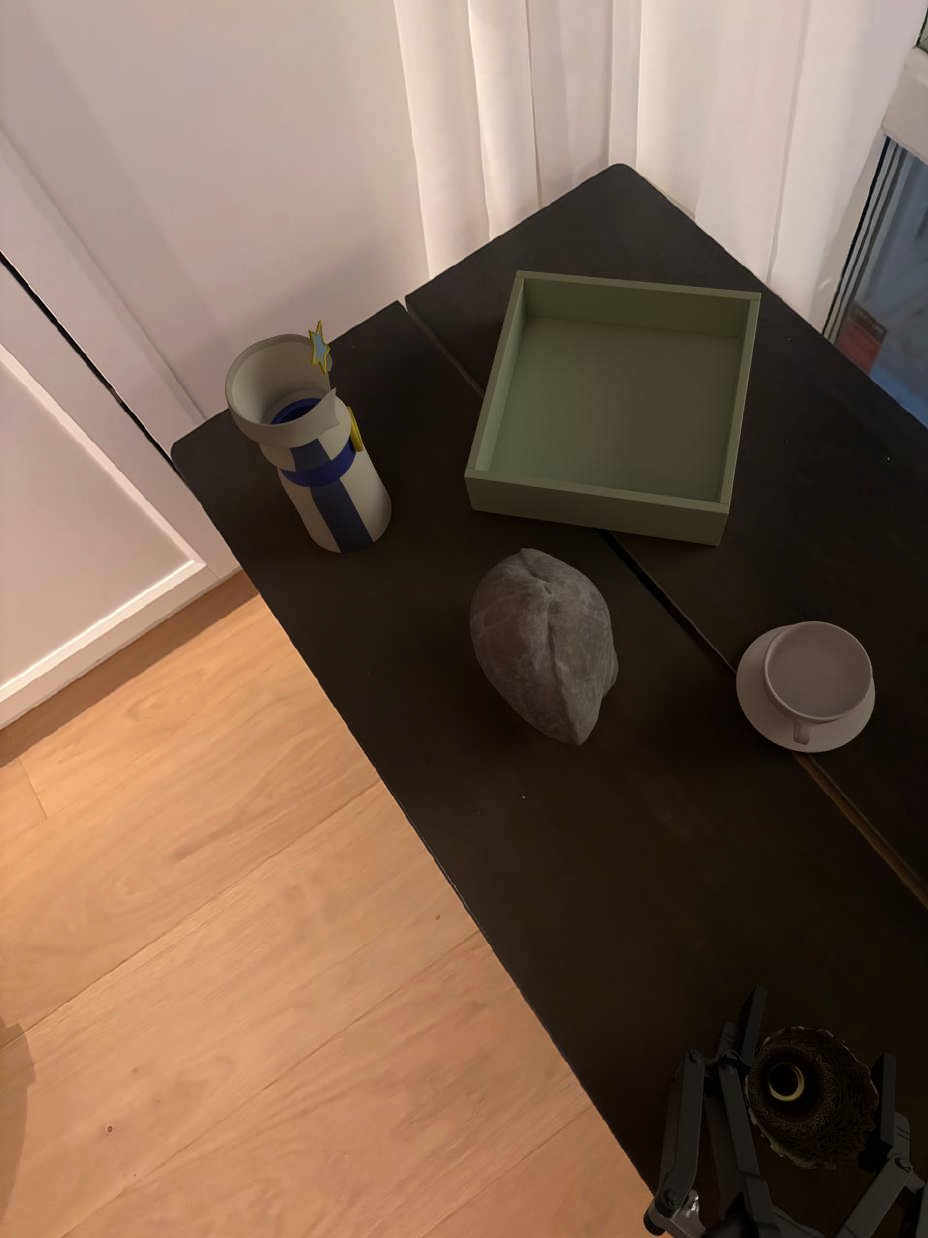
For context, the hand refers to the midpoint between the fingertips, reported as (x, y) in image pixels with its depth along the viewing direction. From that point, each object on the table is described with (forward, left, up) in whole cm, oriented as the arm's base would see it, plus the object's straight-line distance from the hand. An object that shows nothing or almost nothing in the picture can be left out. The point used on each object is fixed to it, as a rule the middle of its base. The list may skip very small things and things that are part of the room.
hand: (815, 1034), depth 58 cm
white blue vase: (+33, +41, -4) cm, 53 cm away
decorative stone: (+22, +21, -4) cm, 31 cm away
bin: (+45, +20, -4) cm, 49 cm away
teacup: (+24, +2, -4) cm, 24 cm away
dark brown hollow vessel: (-3, +1, -4) cm, 5 cm away
